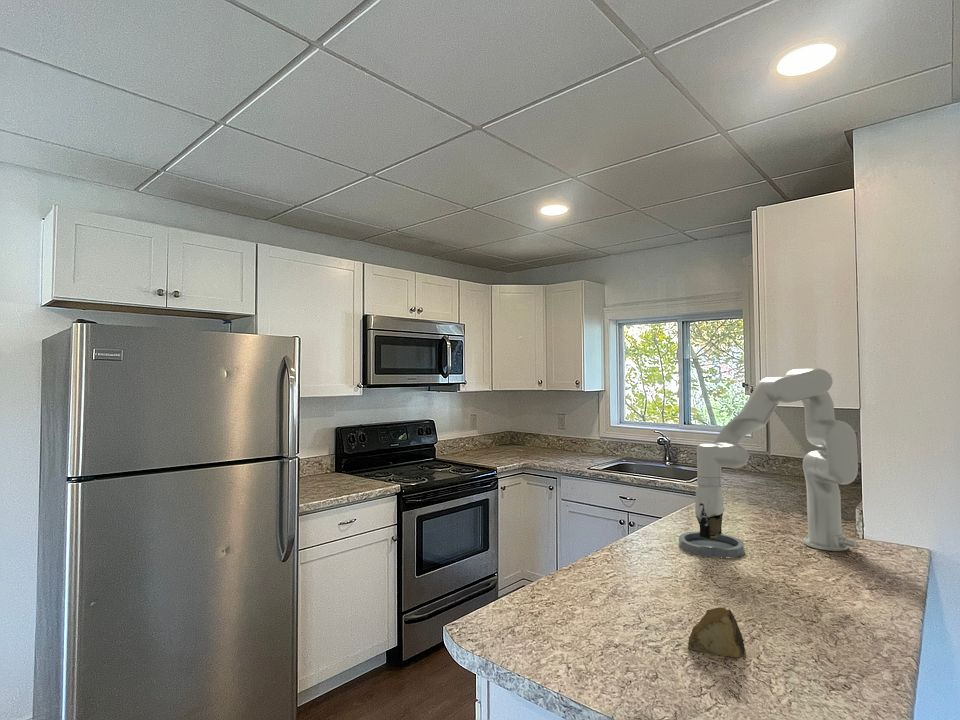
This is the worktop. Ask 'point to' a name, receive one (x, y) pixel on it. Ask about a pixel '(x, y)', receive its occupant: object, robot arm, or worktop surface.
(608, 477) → the worktop surface
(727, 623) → the rock
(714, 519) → the cup
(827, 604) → the worktop surface
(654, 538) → the worktop surface
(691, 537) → the round dish
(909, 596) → the worktop surface
